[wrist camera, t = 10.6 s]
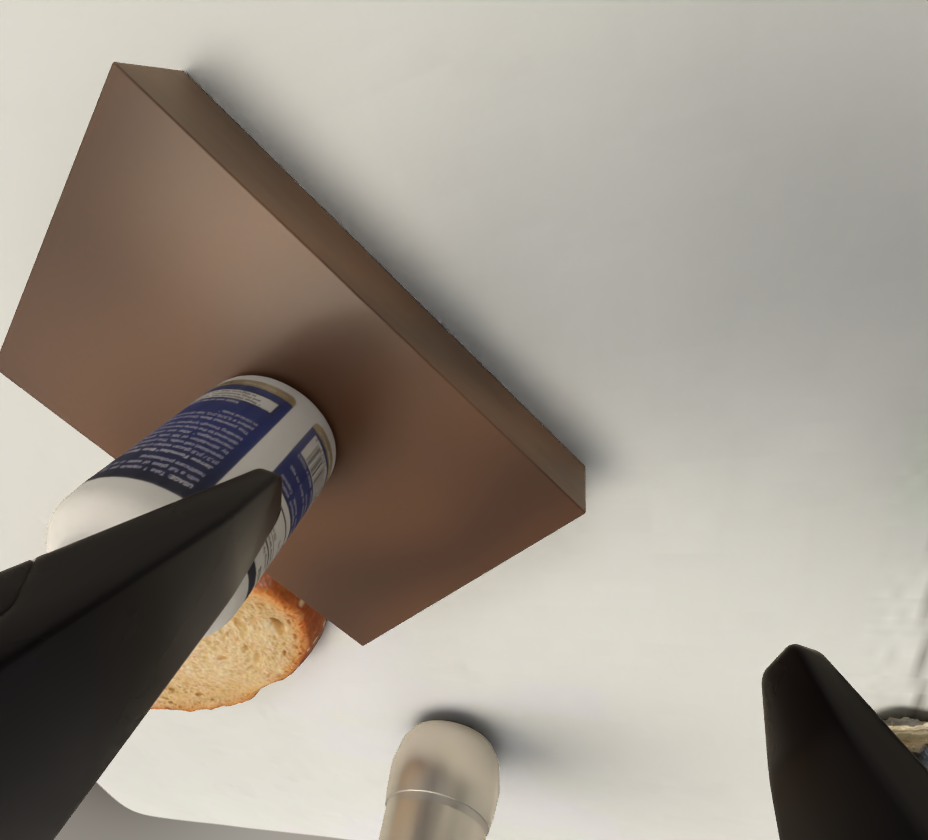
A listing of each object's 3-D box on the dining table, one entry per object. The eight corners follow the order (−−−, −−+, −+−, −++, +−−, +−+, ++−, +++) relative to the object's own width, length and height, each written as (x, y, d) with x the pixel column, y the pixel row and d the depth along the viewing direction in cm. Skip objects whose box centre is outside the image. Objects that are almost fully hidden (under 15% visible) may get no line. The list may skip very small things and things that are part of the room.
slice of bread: (341, 565, 27) (309, 623, 24) (300, 728, 37) (273, 785, 34) (28, 447, 28) (-44, 489, 24) (68, 639, 37) (20, 688, 34)
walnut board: (586, 466, 21) (586, 513, 19) (382, 599, 28) (362, 646, 25) (183, 70, 17) (112, 60, 14) (56, 341, 23) (-7, 367, 21)
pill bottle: (183, 420, 20) (-91, 626, 12) (259, 342, 18) (-19, 534, 9) (285, 511, 22) (103, 752, 13) (368, 451, 19) (209, 699, 11)
